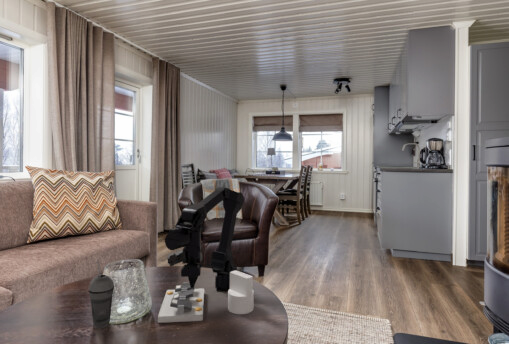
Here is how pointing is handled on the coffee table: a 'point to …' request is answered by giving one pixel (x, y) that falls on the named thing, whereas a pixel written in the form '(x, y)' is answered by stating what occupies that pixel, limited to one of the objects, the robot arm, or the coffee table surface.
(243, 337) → the coffee table surface
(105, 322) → the beverage cup
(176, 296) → the switch
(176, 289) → the switch
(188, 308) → the switch
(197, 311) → the switch panel
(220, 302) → the coffee table surface
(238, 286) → the cylinder with rectangular tab
